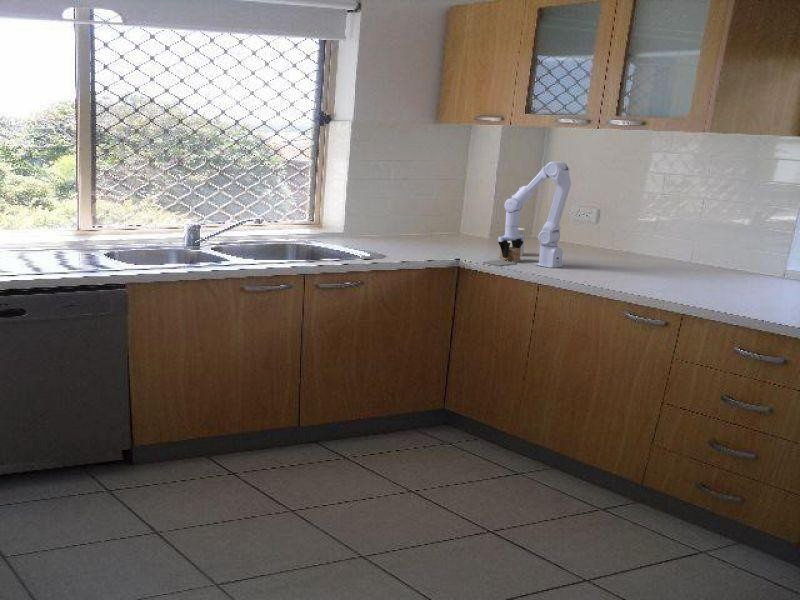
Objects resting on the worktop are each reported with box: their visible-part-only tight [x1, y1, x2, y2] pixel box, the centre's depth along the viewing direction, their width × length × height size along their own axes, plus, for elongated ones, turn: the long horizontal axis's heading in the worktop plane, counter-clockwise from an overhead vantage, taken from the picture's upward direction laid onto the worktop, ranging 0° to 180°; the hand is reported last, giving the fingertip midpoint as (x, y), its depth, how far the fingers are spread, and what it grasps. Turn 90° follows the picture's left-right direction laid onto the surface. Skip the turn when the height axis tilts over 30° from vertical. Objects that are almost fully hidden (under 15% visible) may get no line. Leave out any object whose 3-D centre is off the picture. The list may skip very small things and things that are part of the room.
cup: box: [507, 227, 526, 257], centre depth 388 cm, size 8×8×12 cm
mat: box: [481, 259, 518, 267], centre depth 363 cm, size 10×11×1 cm
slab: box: [499, 247, 521, 263], centre depth 371 cm, size 9×3×6 cm, turn 40°
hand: (510, 257), depth 371 cm, fingers open, 6 cm apart
